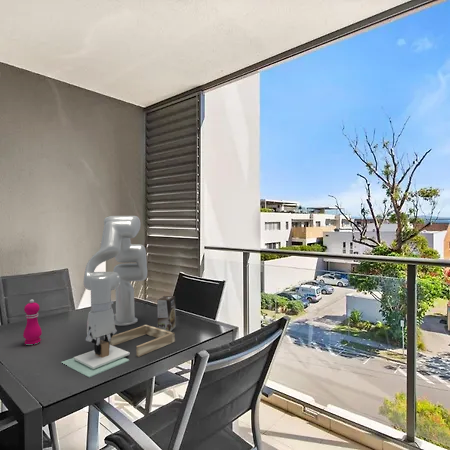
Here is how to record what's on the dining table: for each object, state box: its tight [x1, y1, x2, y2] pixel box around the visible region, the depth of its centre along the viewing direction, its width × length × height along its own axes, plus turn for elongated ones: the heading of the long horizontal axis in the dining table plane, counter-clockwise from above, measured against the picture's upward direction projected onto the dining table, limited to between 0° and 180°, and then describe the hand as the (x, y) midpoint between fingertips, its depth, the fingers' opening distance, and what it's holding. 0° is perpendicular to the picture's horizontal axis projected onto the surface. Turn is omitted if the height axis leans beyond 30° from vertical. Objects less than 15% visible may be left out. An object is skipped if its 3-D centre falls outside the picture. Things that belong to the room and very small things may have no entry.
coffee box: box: [156, 295, 176, 332], centre depth 167 cm, size 9×6×16 cm
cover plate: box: [73, 339, 131, 369], centre depth 133 cm, size 14×16×6 cm
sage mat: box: [60, 357, 130, 378], centre depth 131 cm, size 20×17×1 cm
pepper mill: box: [22, 299, 43, 345], centre depth 151 cm, size 7×7×20 cm
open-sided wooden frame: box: [109, 324, 176, 358], centre depth 149 cm, size 20×20×4 cm
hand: (102, 352), depth 133 cm, fingers closed on cover plate, 3 cm apart
